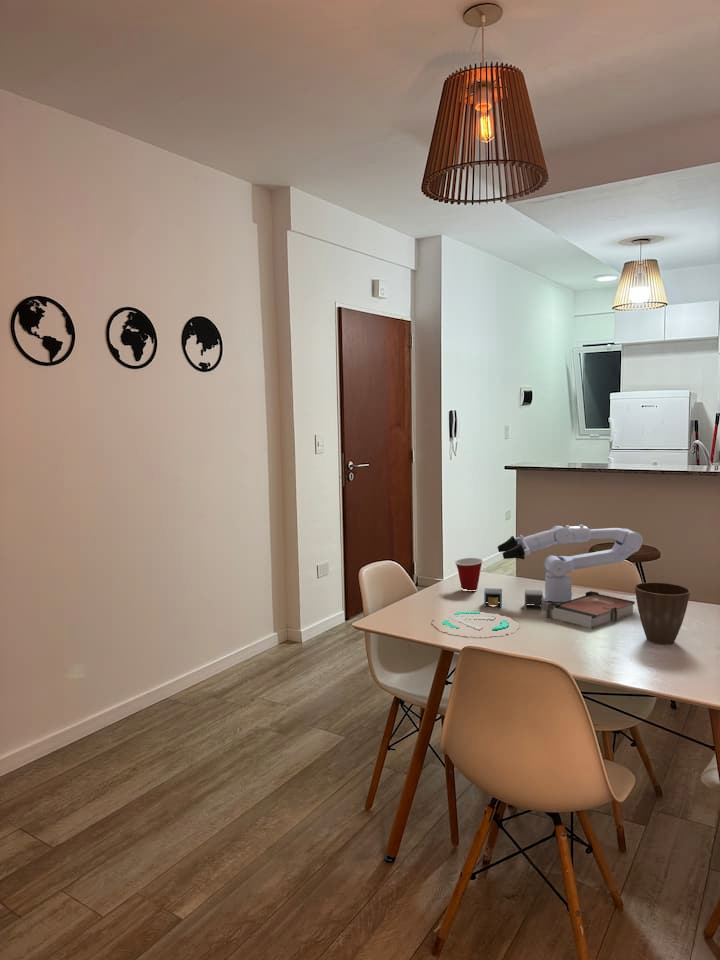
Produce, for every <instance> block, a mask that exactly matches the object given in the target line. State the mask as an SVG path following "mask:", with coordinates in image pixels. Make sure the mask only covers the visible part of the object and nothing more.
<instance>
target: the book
mask: <svg viewBox="0 0 720 960" xmlns="http://www.w3.org/2000/svg"><path fill="white" fill-rule="evenodd" d="M635 603H636V602H635V601H633V600H628V599H623V598H619V597H614V596H610V595H604V594H600V593H599V592H596V591H592V590H590V591H587V592H585V595H583V596H580V597H576V598H574V599H573V598H572V599H571V600H570V601H567V602H559V603H557V602H551V603H547V604H546V618H547V619H549V618H551V619H550V620H553V619H555V620H554V621H557V620H558V622H561V621H562V622H561V623H565V624H568V625H569V624H570V625H573V626H576V625H577V627H580V626H581V627H580V628H584V627H585V629H588V628H589V630H593V629H597V628H599V627H601V626H605V625H608V624H611V623H612V622H613V623H615V622H617V621H618V620H621V619H623V617H624V618H626V617H629V616H631V615H630V614H632V615H634V614H635V612H634V605H636V604H635ZM633 613H634V614H633ZM628 615H629V616H628ZM620 618H621V619H620Z"/></svg>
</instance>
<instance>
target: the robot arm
mask: <svg viewBox="0 0 720 960" xmlns="http://www.w3.org/2000/svg"><path fill="white" fill-rule="evenodd" d="M590 539H613V540H615V542H614V544H613V546H612V548H610V549H606V550H605V549H604V550H600V551H599V550H598V551H594V552H589V553H588V552H587V553H580V554H576V555H570V556H568V555H567V556H566V555H560V556H557V555H554V554H553V555H551V554H550V555H547V557H546V558H545V559H544V560H543V567H544V569H545V570H546V572H545V574H544V594H543V595H544V596H543V601H544V602H548V601H552V602H551V603H563V602H567V601H570V600H572V598H573V597H572V596H573V590H572V587H573V586H572V585H573V584H572V582H573V581H572V576H569V575H566V574H570V573H572V572H574V570H580V569H587V568H588V569H589V568H592V567H598V566H604V565H611V564H616V563H622V562H624V561H625V560H626V559H627V558H629V557H630V556H631V555H633V554H634V553H636V552H639V550H640V549H641V547H642V546H643V542H644V539H643V536H642V535H641V533H639V532H637V531H633V530H631V529H629V528H627V527H626V528H625V527H624V528H620V527H609V528H608V527H606V528H589V527H588V526H585V525H584V524H578V526H577V525H575V526H574V525H573V526H572V525H571V526H570V525H569V524H568V525H567V524H566V525H565V527H564V526H562V525H554V526H552V528H551V529H548V530H544V531H541V532H536V533H534V534H533V533H532V534H531V535H527V536H523V535H522V534H520V535H519V536H517V537H515V536H514V535H511V536H510V537H509V538H508V539H507V540H506V541H505V542H503V543H501V544H499V545H498V546H497V550H498V552H499V553H502V558H503V559H505V560H508V559H521V560H525V556H529V555H531V554H532V553H531V552H535V551H539V550H541V549H544V548H548V547H551V546H554V545H557V544H563V545H566V544H568V543H587V542H588V541H590Z"/></svg>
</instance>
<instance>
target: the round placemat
mask: <svg viewBox="0 0 720 960" xmlns="http://www.w3.org/2000/svg"><path fill="white" fill-rule="evenodd" d="M464 611H466V612H464ZM464 611H463V612H461V611H455V612H456V613H455V614H454V615H459V614H469V613H470V614H480V613H481V612H480V611H478V612H474V611H475V610H472V611H471V610H464ZM469 611H471V612H469ZM449 618H451V619H452V620H455V621H458V622H459V623H462V624H464V625H466V626H467V627H471V628H473V629H475V630H478V631H480V630H482V629H483V626H480V625H476V624H474V623H472V622H468V621H465V620H466V619H469V620H471V619H474V620H477V619H478V620H487V621H488V620H490V621H494V620H495V619H496V617H494V616H491V617H489V616H486V617H484V616H480V617H479V616H475V617H474V616H472V617H469V616H467V617H463V616H461V617H458V616H456V617H449ZM463 619H465V620H463ZM448 621H449V620H444V622H442V623H443V625H446V626H447V625H448V626H449V627H451V628H456V629H459V628H460V627H457V626H455V625H452V624H451V623H449V622H448ZM508 627H509V622H507V621H506V620H503V621H501V622H500V625H499V626H495V627H494V628H492V631H498V630H502V629H506V628H508Z"/></svg>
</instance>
